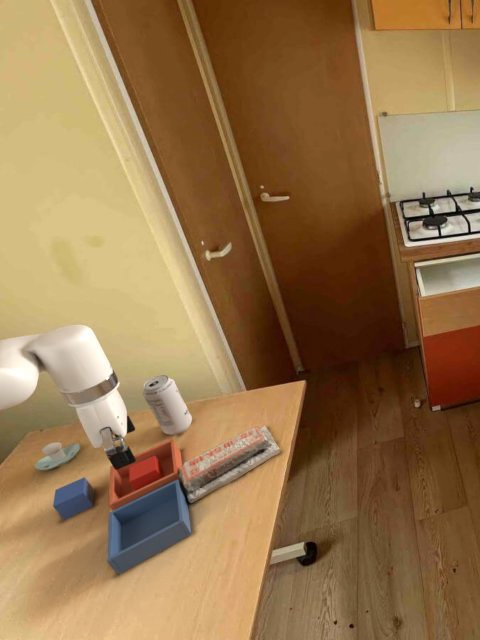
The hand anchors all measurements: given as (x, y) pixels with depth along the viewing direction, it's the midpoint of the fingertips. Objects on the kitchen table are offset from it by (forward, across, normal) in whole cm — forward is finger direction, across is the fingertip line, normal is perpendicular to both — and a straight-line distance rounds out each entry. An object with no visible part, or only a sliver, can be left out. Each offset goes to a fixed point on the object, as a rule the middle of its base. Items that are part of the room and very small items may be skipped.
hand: (126, 448), depth 87 cm
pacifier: (+12, -20, -15) cm, 28 cm away
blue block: (+12, -4, -11) cm, 17 cm away
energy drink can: (+12, -14, +7) cm, 20 cm away
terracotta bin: (+12, 0, +1) cm, 12 cm away
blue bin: (+12, +13, +1) cm, 18 cm away
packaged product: (+11, +6, +16) cm, 20 cm away
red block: (+11, 0, +1) cm, 11 cm away
